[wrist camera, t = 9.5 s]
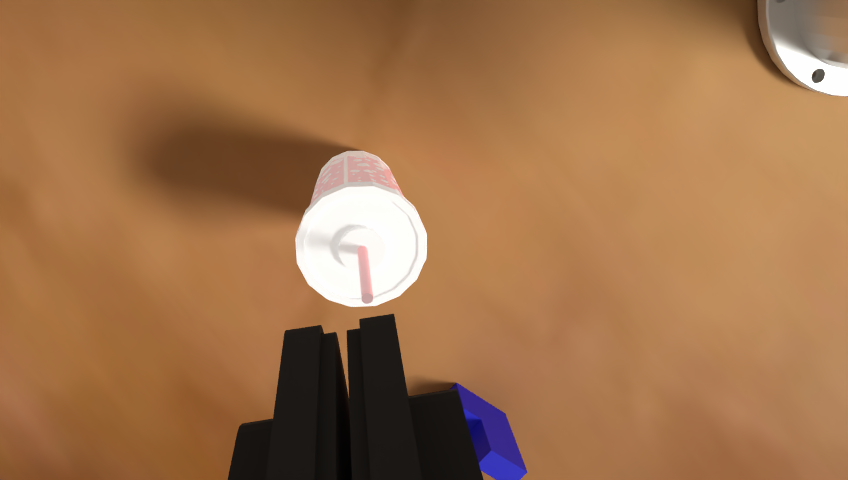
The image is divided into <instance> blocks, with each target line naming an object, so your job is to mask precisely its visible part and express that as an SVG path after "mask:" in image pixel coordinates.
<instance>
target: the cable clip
mask: <svg viewBox="0 0 848 480" xmlns="http://www.w3.org/2000/svg"><path fill="white" fill-rule="evenodd" d="M451 389H457V391H458V394H459V397H460V400H461V403H462V407H463V410H464V414H465V417H466V421H467V424H468V428H469V431H470V435H471V438H472V442H473V445H474V449H475V452H476V456H477V459H478V463H479V466H480V470H481V471H483V472H484V473H486V474H488V475H490V476H491V477H493V478H495V479H496V480H520V479H521V478H522V477H523V476H524V475H525V474H526V473H527V470H526V467H525V465H524V462H523V459H522V457H521V454H520V451H519V449H518V446H517V444H516V441H515V438H514V436H513V433H512V430H511V428H510V425H509V422H508V420H507V417H506V414H505V413H503V412H502V411H500V410H499V409H497V408H495V407H494V406H492V405H491V404H489V403H488V402H486V401H484V400H483V399H481V398H480V397H478V396H477V395H475V394H473V393H472V392H470V391H469V390H467V389H466V388H464V387H462V386H461V385H459V384H458V383H456V384H455V385H454V386H453V387H452V388H451ZM451 389H450V390H451Z"/></svg>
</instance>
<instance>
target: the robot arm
mask: <svg viewBox="0 0 848 480" xmlns="http://www.w3.org/2000/svg"><path fill="white" fill-rule="evenodd" d="M757 4H758V23H759V27H760V31H761V35H762V39H763V43H764V45H765V47H766V49H767V51H768V53H769V55H770V57H771V60H772V61H773V62H774V63H775V64H776V66H777V67H778V68H779V69H780V71H781V72H782V73H783V74H784V75H785V76H787V77H788V78H789V79H791V80H792V81H793V82H794V83H796V84H797V85H800V86H802V87H804V88H807V89H809V90H811V91H814V92H818V93H823V94H826V95H830V96H843V97H848V0H757ZM359 321H360V328H359V329H353V330H347V351H348V380H349V397H348V391H347V386H346V380H345V375H344V369H343V364H342V358H341V353H340V347H339V342H338V337H337V333H336V332H334V333H327V334H324V332H323V329H322V326H321V325H318V326H312V327H305V328H299V329H292V330H286V331H285V334H284V341H283V348H282V356H281V364H280V371H279V379H278V386H277V394H276V401H275V409H274V417H273V419H268V420H262V421H256V422H250V423H243V424H241V425H240V426H239V429H238V433H237V437H236V442H235V447H234V452H233V457H232V461H231V466H230V471H229V476H228V480H483V476H482V473H481V470H480V466H479V463H478V459H477V456H476V452H475V449H474V445H473V442H472V438H471V435H470V431H469V428H468V424H467V421H466V417H465V414H464V410H463V407H462V403H461V400H460V397H459V394H458V391H457V389H451V390H445V391H439V392H433V393H427V394H421V395H415V396H408V394H407V388H406V382H405V376H404V370H403V364H402V359H401V353H400V347H399V341H398V335H397V329H396V323H395V317H394V314H389V315H383V316H376V317H370V318H363V319H359Z"/></svg>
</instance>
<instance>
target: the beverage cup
mask: <svg viewBox="0 0 848 480" xmlns="http://www.w3.org/2000/svg"><path fill="white" fill-rule="evenodd" d="M295 240H296V255H297V264H298V266H299V268H300V270H301V271H302V273H303V275H304V277H305V279H306V281H307V283H308V284H309V285H310V286H311V287H312V288H314V289H315V290H316V291H317V292H319V293H320V294H321V295H322V296H324V297H325V298H326V299H327V300H331V301H334V302H337V303H340V304H343V305H347V306H350V307H360V306H377V305H379V304H381V303H384V302H386V301H389V300H391V299H393V298H396V297H398V296H400V295H401V294H402V293H403V292H404V291H405V290H406V289H407V288H408V287H409V286H410V285H411V284H412V283H413V282H414V281H416V280H417V278H418V275H419V273H420V271H421V269H422V267H423V264H424V262H425V260H426V257H427V233H426V231H425V229H424V226H423V224H422V222H421V219H420V217H419V215H418V213H417V210H416V209H415V207H414V206H413V205H412V204H411V203H410V202H409V201H408V200H407V199H406V198H405V197H404V196H403V194H402V192H401V190H400V188H399V186H398V184H397V182H396V180H395V178H394V177H393V175H392V173H391V171H390V169H389V167H388V166H387V165H386V164H385V163H384V162H383V161H382V160H381V159H380V158H379V157H378V156H375V155H373V154H370V153H367V152H365V151H346V152H344V153H341V154H339V155H337V156H334V157H332V158H331V159H330V160H329V161H328V162H327V163H326V164H325V166H324V167H323V168H322V169H321V172H320V174H319V177H318V180H317V182H316V186H315V189H314V193H313V196H312V200H311V204H310V206H309V207H308V208H307V209H306V210H305V213H304V215H303V218H302V221H301V223H300V226H299V229H298V231H297V235H296V239H295Z"/></svg>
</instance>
